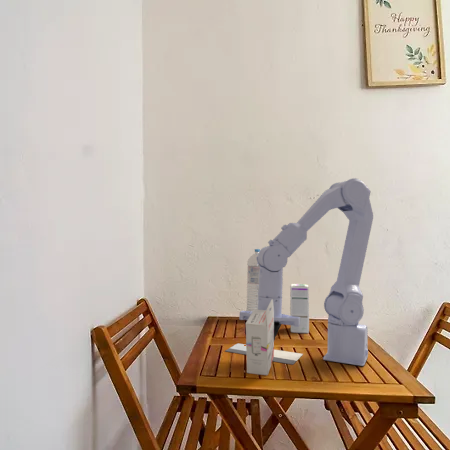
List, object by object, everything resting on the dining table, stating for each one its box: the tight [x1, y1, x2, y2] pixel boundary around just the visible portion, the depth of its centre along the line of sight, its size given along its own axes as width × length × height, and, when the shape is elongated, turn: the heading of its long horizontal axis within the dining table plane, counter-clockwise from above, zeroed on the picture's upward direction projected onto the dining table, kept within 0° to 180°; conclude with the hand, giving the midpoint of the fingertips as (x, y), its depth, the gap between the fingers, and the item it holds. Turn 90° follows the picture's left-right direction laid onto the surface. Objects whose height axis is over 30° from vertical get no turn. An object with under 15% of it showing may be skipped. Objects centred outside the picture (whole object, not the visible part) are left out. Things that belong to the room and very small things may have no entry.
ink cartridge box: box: [245, 299, 275, 376], centre depth 89 cm, size 9×5×15 cm, turn 163°
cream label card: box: [272, 349, 304, 366], centre depth 98 cm, size 9×9×1 cm
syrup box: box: [289, 283, 310, 334], centre depth 125 cm, size 6×6×14 cm
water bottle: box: [246, 248, 261, 311], centre depth 138 cm, size 7×7×25 cm
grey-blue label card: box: [224, 342, 247, 356], centre depth 104 cm, size 8×8×1 cm
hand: (267, 352), depth 95 cm, fingers closed, pressing on ink cartridge box
